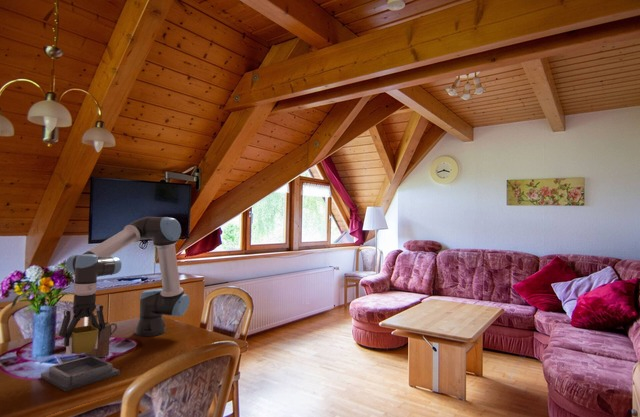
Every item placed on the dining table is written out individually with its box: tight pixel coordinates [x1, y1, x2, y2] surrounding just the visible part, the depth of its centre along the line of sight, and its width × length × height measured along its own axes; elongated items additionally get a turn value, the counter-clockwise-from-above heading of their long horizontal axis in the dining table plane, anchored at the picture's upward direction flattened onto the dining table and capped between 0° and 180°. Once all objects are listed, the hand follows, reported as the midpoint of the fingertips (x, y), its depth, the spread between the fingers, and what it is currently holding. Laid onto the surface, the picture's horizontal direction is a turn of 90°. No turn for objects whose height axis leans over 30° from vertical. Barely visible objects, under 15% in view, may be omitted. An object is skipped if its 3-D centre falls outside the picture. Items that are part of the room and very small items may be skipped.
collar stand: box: [40, 355, 121, 393], centre depth 153 cm, size 20×20×4 cm
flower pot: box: [70, 325, 99, 355], centre depth 154 cm, size 9×9×9 cm
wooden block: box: [83, 313, 111, 359], centre depth 176 cm, size 4×11×18 cm, turn 72°
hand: (81, 350), depth 154 cm, fingers closed on flower pot, 9 cm apart
